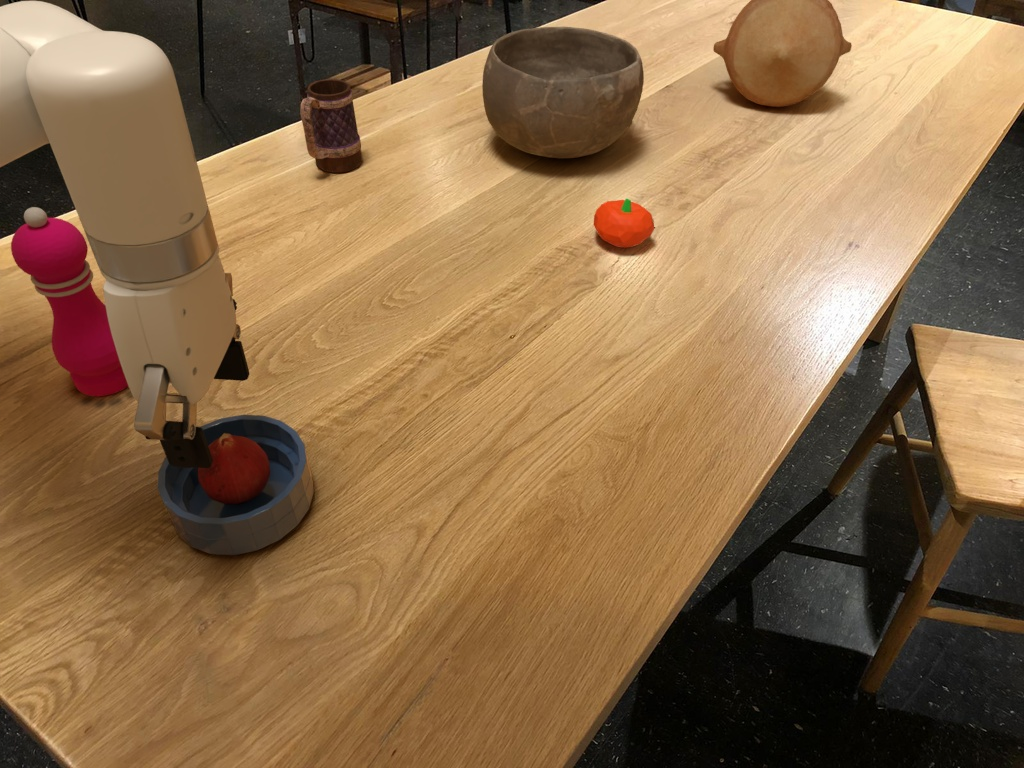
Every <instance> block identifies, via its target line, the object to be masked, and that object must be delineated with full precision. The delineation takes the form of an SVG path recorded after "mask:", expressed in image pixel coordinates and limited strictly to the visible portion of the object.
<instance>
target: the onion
mask: <svg viewBox="0 0 1024 768" xmlns="http://www.w3.org/2000/svg"><path fill="white" fill-rule="evenodd" d="M208 447H209V450H210V453H211V455H212V458H213V463H212V465H211V467H210V468H198V478H199V483H200V485H201V486H202V488H203V489H204V491H205V492H206V494H207V495H208V496H209V498H211V499H213V500H215V501H218V502H220V503H223V504H240V503H244V502H247V501H249V500H251V499H253V498H255V497H256V496H258V495H259V494H260V493H261V491H262V490H263V489H264V488H265V486H266V484H267V481H268V479H269V476H270V466H269V460H268V457H267V455H266V453H265V452H264V451H263V449H262V448H261V447H260V446H259V445H258V444H257V443H256V442H254V441H252V440H250V439H248V438H245V437H242V436H235V435H230V434H226V433H224V434H223V435H222V436H221V437H220V438H219V439H216V440H215V441H213V442H212V443H211V444H210V445H209V446H208Z"/></svg>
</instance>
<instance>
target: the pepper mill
mask: <svg viewBox="0 0 1024 768" xmlns="http://www.w3.org/2000/svg"><path fill="white" fill-rule="evenodd" d="M23 219H24V222H25V223H24V224H22V225H21V226H20V227H19V228H18V229H17V230H16V231H15V232H14V234H13V236H12V239H11V242H10V249H11V250H10V251H11V256H12V258H13V261H14V263H15V264H16V266H17V267H18V268H19V269H20V270H22V271H23V273H25V274H27V275H29V276H30V281H31V283H32V284H33V286H34V289H35V291H36V292H37V293H38V294H39V295H41V296H44V297H45V298H46V300H47V302H48V304H49V306H50V308H51V309H50V310H51V311H52V318H53V320H52V321H53V323H52V330H51V348H52V352H53V356H54V358H55V360H56V362H57V363H58V365H59V366H60V367H61V368H63V369H64V370H66V371H67V372H69V376H70V379H71V380H72V382H73V384H74V386H75V388H76V389H77V390H78V391H79V392H80V393H81V394H83V395H86V396H89V397H90V396H91V397H106V396H111V395H114V394H116V393H119V392H122V391H123V390H125V389H127V388H129V386H128V383H127V381H126V378H125V375H124V372H123V369H122V366H121V363H120V360H119V357H118V354H117V351H116V347H115V344H114V341H113V337H112V334H111V330H110V326H109V321H108V317H107V311H106V306H105V303H104V302H103V301H102V300H101V299H100V298H99V296H97V294H96V292H95V290H94V288H93V285H92V281H93V279H94V273H93V272H94V271H92V269H91V265H90V263H89V262H88V261H87V260H86V259H87V256H88V243H87V241H86V239H85V236H84V235H83V233H82V232H81V231H80V230H79V229H78V227H76V226H75V225H74V224H73V223H71V222H69V221H66V220H65V219H61V218H58V217H48V214H47V213H46V211H45V210H43V209H42V208H40V207H37V206H31V207H29V208H26V210H25V211H24V213H23Z"/></svg>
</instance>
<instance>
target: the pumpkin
mask: <svg viewBox="0 0 1024 768" xmlns="http://www.w3.org/2000/svg"><path fill="white" fill-rule="evenodd" d="M593 227H594V229H595V230H596V232H597V234H598V236H599V238H601V239H602V240H603V241H605V242H606V243H608V244H611V245H613V246H615V247H617V248H626V249H627V248H632V247H635V246H638V245H641V244H642V243H643V242H644V241H645V240H647V239H648V238H650V237H651V236H652V235H653V233H654V231H655V229H656V227H655V221H654V218H653V215H652V213H651V212H650V211H649V210H647V208H645V207H644V206H642V205H641V204H639V203H636V202H634V201H632V200H630V199H629V198H625V199H618V200H607V201H605V202H603V203H602V204H600V205H599V207H597V209H596V211H595V213H594V216H593Z"/></svg>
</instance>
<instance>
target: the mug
mask: <svg viewBox="0 0 1024 768" xmlns="http://www.w3.org/2000/svg"><path fill="white" fill-rule="evenodd" d="M306 96H307V97H304V98H303V99H302V100H301V103H300V119H301V124H302V127H303V132H304V138H305V139H304V140H305V143H306V149H307V153H308V155H309V156H310V157H311V158H313V159H315V160H314V161H315V165H316V167H318V168H319V169H321V170H322V171H323V172H327V173H332V174H341V173H347V172H350V171H354V170H355V169H357V168H358V167H359V166H360V165H361V164H362V162H363V154H362V141H361V136H360V134H359V131H358V124H357V118H356V111H355V105H354V96H353V91H352V90H351V86H350V83H348V82H347V81H345V80H342V79H336V78H326V79H325V78H324V79H320V80H315V81H313V82H311V83H310V84H309V85H308V86H307V95H306Z"/></svg>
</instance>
